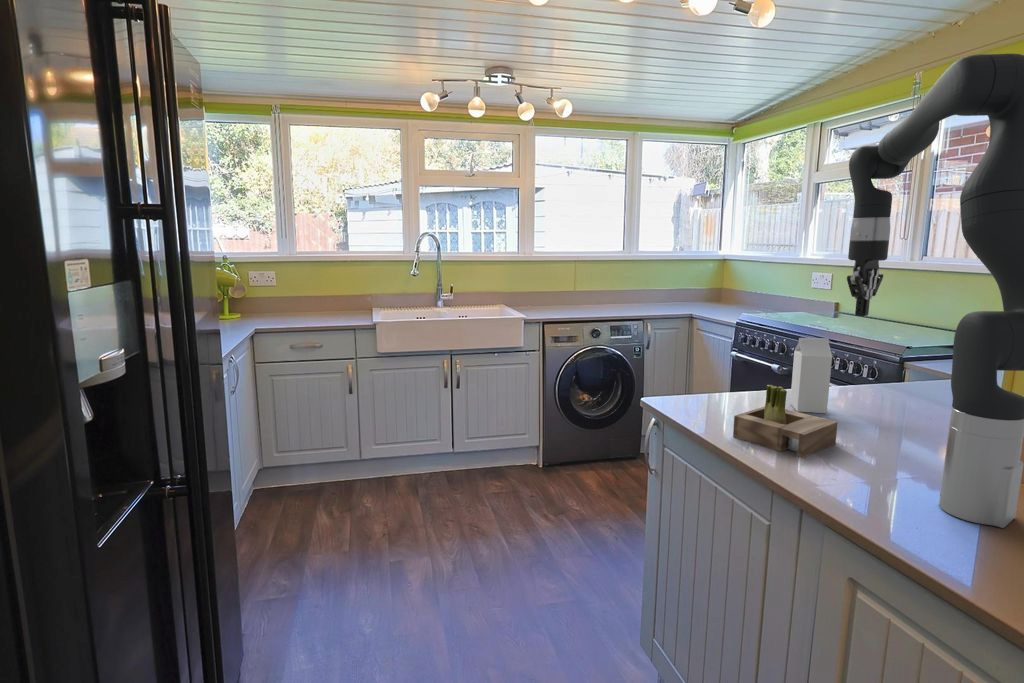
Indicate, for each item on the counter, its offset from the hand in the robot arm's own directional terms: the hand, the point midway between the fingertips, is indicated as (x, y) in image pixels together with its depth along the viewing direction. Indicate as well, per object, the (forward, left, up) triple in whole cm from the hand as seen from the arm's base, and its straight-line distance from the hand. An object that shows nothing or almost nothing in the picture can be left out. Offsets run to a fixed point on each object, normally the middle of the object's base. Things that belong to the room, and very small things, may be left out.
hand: (861, 315), depth 131 cm
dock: (+5, +20, -27) cm, 34 cm away
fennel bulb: (+7, +20, -27) cm, 35 cm away
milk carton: (+14, -8, -27) cm, 32 cm away
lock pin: (0, +19, -27) cm, 33 cm away
